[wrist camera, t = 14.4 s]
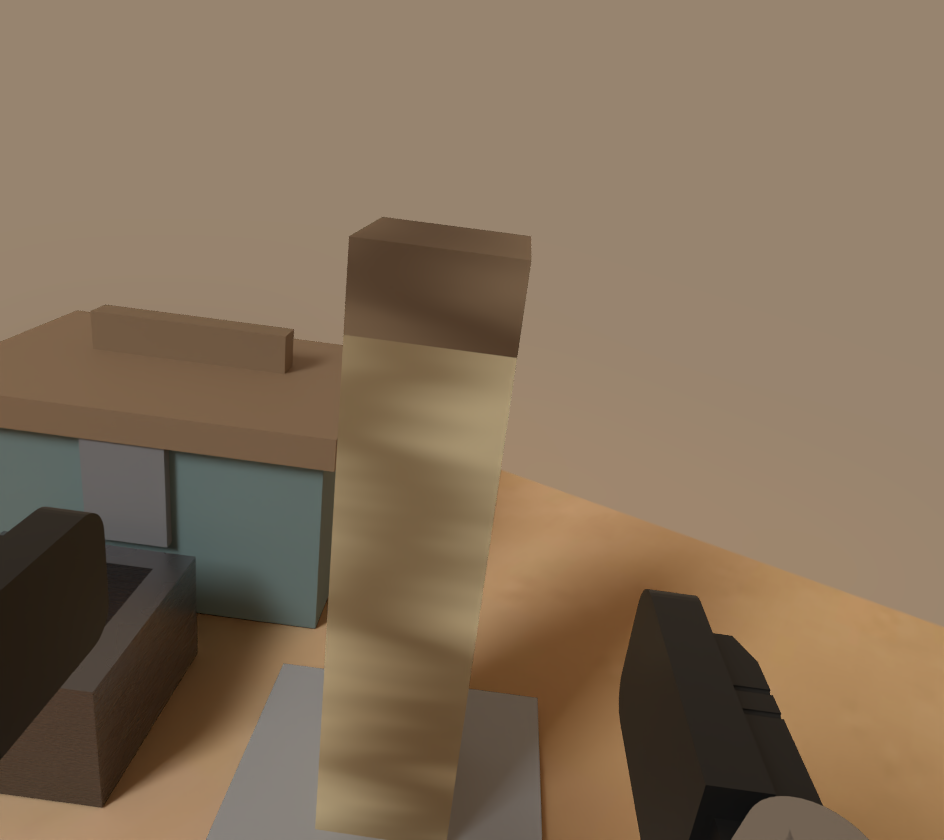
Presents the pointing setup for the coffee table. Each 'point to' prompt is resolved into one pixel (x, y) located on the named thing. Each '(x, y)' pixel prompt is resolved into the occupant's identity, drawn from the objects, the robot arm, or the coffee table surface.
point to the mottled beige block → (413, 514)
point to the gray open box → (112, 684)
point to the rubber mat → (297, 763)
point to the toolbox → (182, 447)
